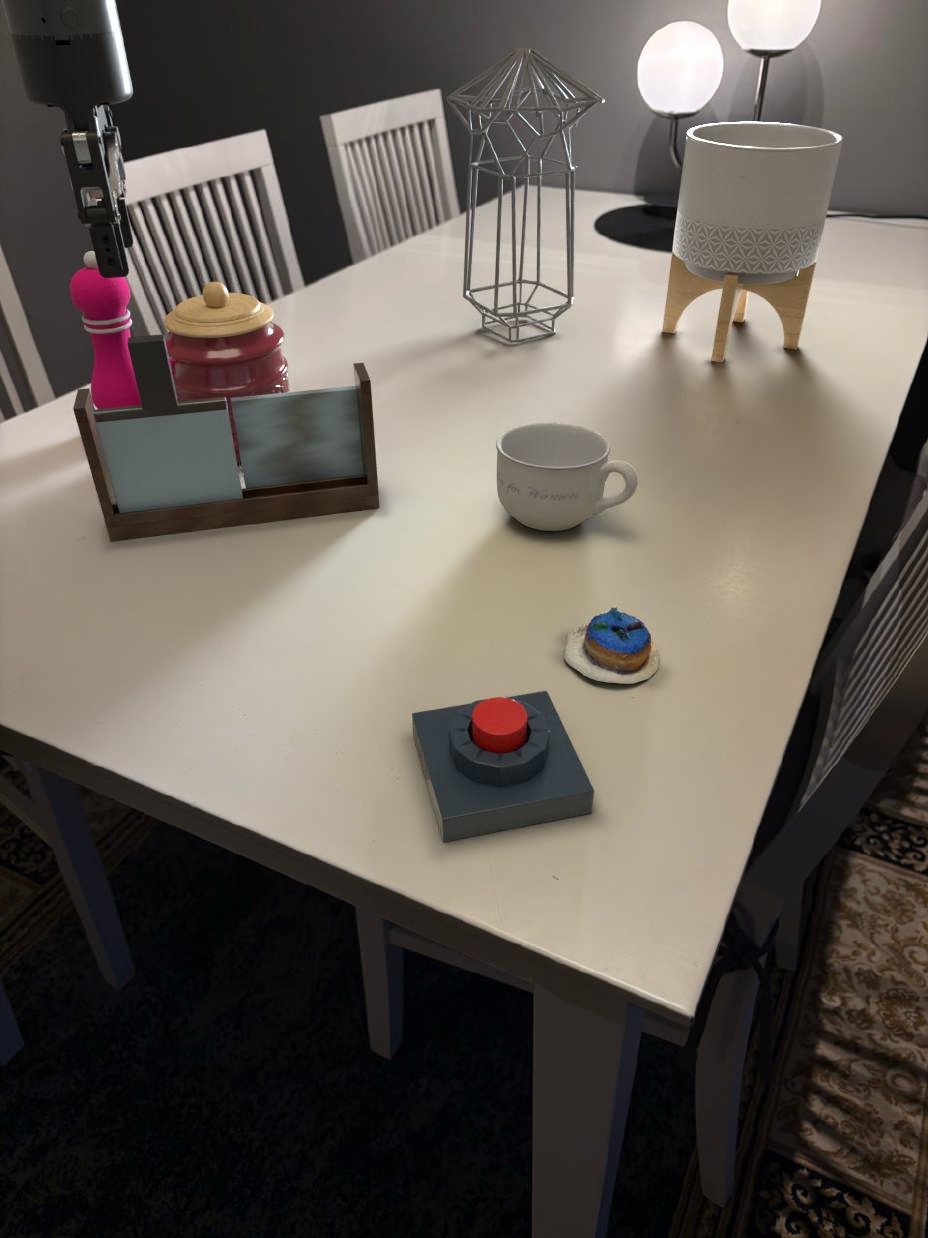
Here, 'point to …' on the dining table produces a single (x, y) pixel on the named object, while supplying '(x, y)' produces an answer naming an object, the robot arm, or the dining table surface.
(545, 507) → the teacup
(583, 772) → the button box
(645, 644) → the dessert
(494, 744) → the button
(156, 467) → the window pane
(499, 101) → the geometric lantern
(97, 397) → the pepper mill
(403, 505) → the dining table surface
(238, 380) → the kitchen canister
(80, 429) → the window frame
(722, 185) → the planter
